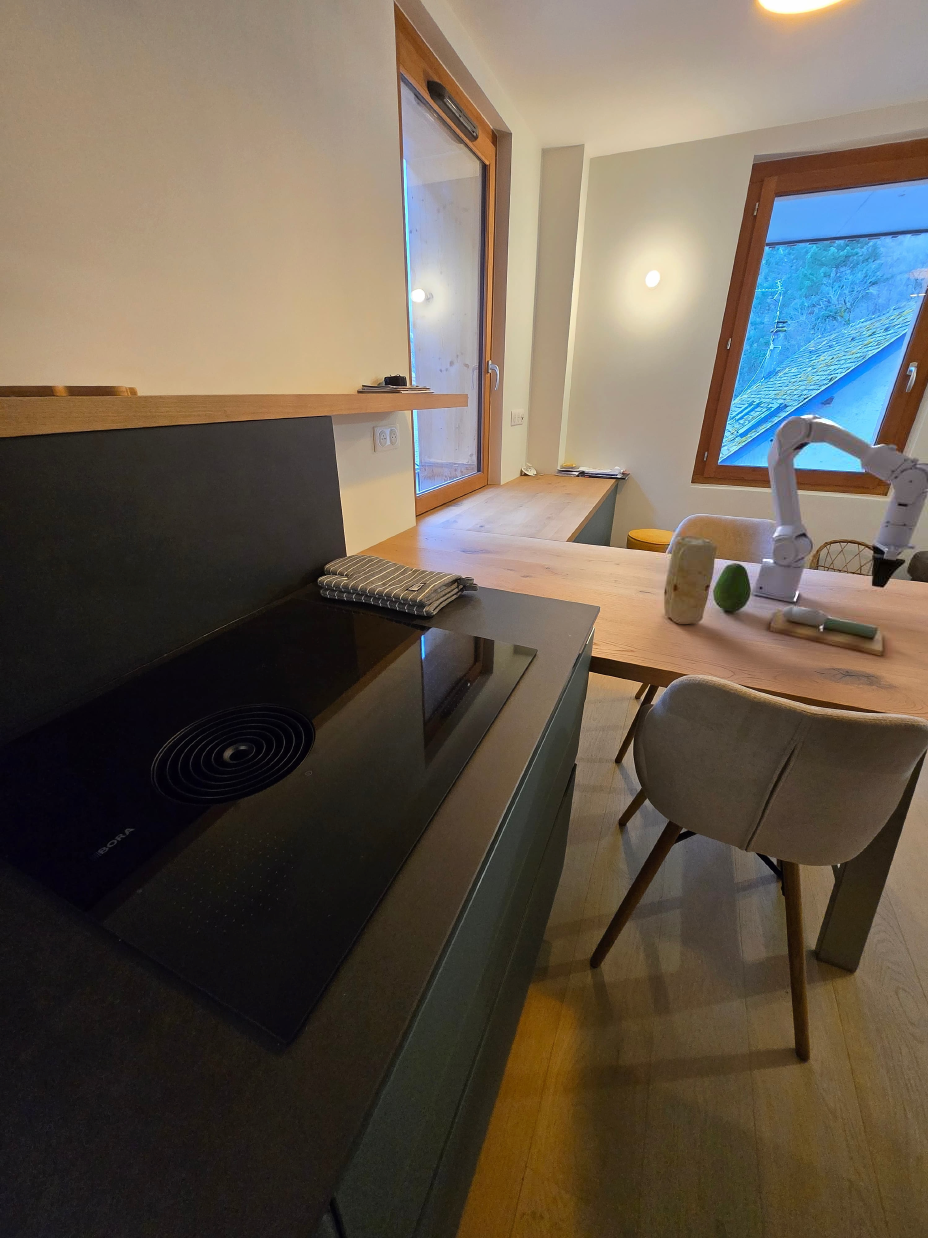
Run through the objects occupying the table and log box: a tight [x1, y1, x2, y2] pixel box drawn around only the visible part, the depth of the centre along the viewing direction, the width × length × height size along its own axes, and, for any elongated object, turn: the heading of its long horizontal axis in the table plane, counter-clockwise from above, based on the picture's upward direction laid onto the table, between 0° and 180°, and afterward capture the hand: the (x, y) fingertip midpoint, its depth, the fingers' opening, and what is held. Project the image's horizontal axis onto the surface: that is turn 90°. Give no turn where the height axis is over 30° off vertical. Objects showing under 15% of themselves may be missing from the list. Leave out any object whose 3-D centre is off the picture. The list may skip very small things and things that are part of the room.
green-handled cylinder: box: [782, 605, 879, 639], centre depth 109 cm, size 17×4×4 cm, turn 53°
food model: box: [663, 535, 718, 625], centre depth 113 cm, size 10×7×20 cm
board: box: [769, 608, 883, 656], centre depth 110 cm, size 20×11×1 cm, turn 53°
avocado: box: [712, 562, 752, 612], centre depth 119 cm, size 8×8×12 cm
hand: (877, 581), depth 112 cm, fingers open, 7 cm apart
